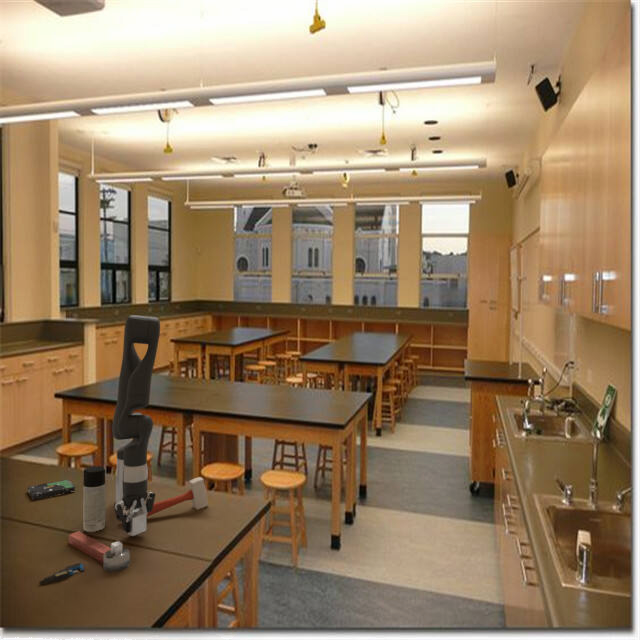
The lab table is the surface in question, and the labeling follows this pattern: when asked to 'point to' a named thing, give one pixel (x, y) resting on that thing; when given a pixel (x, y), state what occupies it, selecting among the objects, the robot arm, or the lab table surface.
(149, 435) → the robot arm
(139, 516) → the cube with square hole
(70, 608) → the lab table surface
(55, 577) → the micrometer
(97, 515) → the spray can
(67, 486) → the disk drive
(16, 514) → the lab table surface
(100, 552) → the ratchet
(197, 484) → the mallet
